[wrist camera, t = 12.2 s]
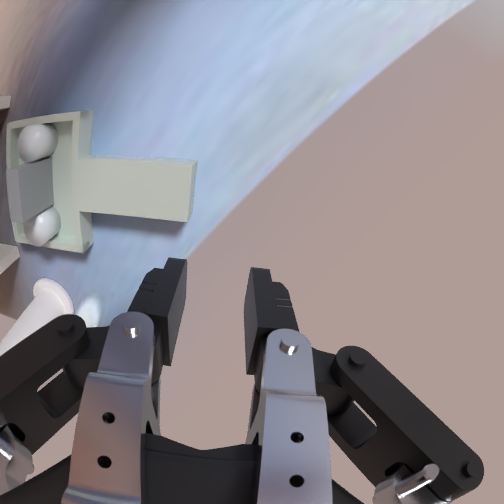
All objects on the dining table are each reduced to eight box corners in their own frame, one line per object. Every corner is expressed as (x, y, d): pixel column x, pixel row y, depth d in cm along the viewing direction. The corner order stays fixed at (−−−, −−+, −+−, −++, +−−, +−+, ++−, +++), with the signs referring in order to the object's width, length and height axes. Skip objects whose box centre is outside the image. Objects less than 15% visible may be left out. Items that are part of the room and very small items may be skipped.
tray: (203, 111, 21) (190, 107, 15) (189, 255, 27) (176, 292, 21) (21, 120, 19) (-18, 127, 13) (26, 233, 25) (-5, 257, 19)
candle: (29, 276, 27) (-68, 411, 5) (64, 278, 28) (-39, 442, 5) (46, 317, 30) (-27, 450, 8) (81, 322, 31) (10, 478, 9)
